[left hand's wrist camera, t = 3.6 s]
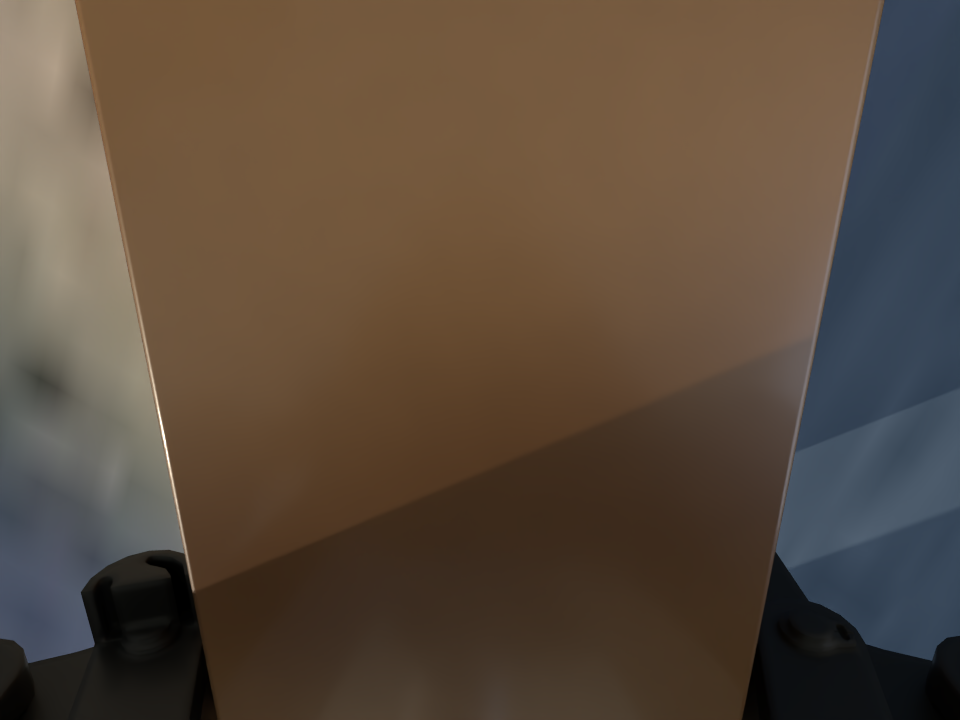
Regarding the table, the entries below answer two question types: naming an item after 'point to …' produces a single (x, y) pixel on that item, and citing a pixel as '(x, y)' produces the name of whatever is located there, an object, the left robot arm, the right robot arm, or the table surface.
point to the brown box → (479, 334)
